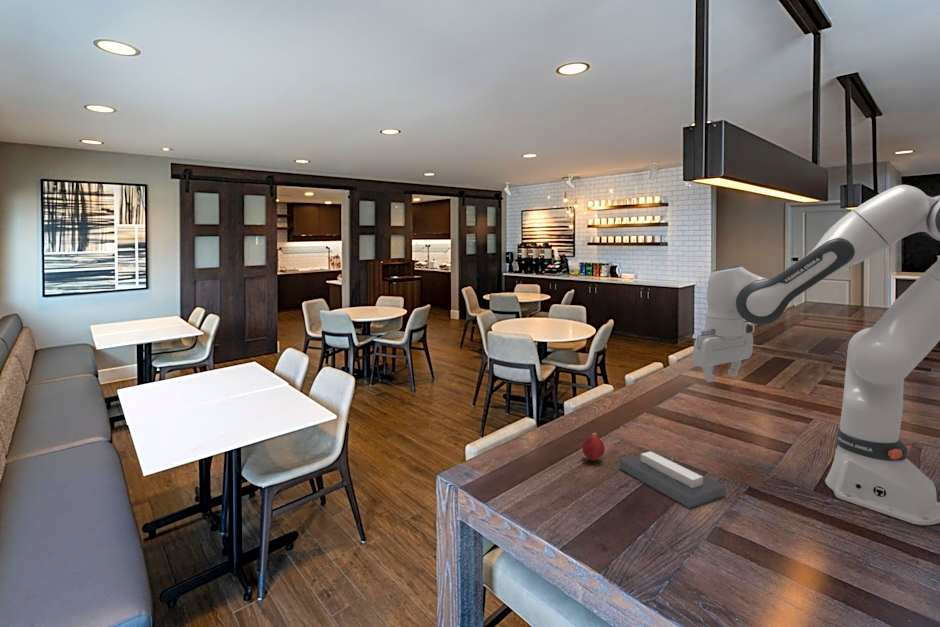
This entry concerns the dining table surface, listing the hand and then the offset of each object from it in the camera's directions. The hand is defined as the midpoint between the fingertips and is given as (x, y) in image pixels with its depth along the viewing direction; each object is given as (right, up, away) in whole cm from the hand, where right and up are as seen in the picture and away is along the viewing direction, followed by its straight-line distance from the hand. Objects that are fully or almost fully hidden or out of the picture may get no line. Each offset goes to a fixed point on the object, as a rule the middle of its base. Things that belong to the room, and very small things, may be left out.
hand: (721, 378), depth 135 cm
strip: (-18, -24, -9) cm, 31 cm away
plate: (-18, -25, -9) cm, 32 cm away
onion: (-34, -23, +3) cm, 41 cm away
